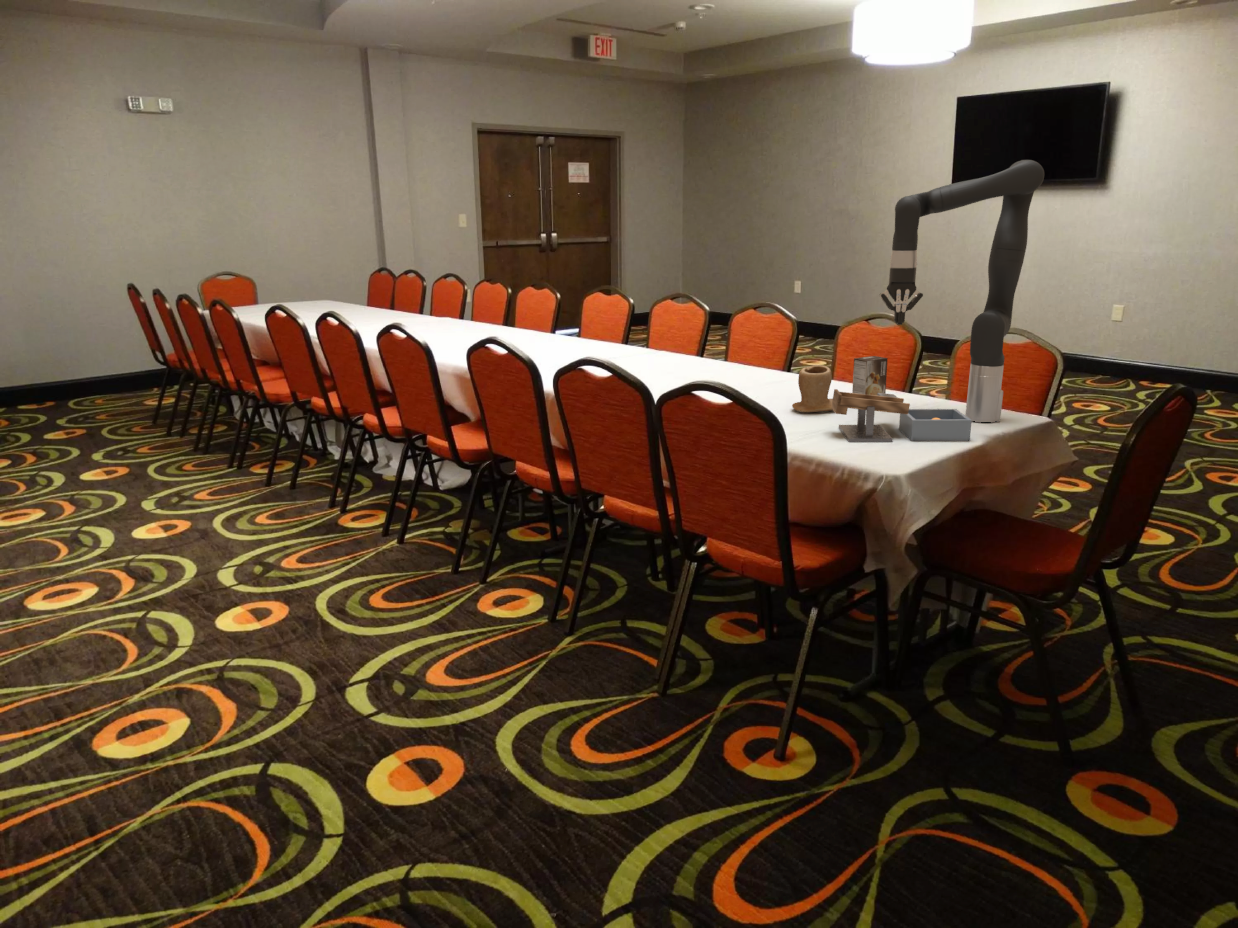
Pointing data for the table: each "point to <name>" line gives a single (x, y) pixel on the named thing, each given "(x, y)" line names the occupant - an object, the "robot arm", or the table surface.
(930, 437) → the bin
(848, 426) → the stand
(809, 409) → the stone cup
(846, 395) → the chute
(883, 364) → the coffee box
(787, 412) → the table surface
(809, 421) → the table surface
